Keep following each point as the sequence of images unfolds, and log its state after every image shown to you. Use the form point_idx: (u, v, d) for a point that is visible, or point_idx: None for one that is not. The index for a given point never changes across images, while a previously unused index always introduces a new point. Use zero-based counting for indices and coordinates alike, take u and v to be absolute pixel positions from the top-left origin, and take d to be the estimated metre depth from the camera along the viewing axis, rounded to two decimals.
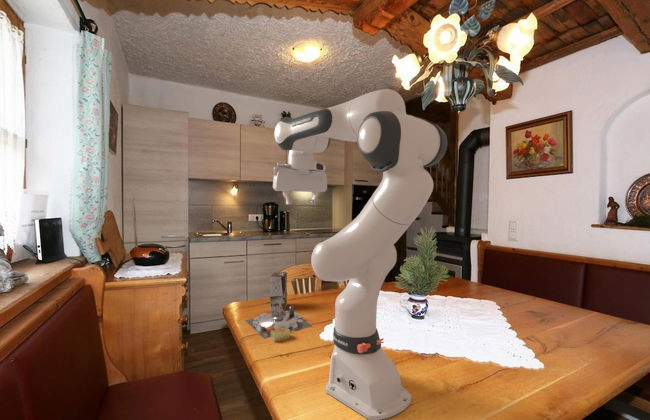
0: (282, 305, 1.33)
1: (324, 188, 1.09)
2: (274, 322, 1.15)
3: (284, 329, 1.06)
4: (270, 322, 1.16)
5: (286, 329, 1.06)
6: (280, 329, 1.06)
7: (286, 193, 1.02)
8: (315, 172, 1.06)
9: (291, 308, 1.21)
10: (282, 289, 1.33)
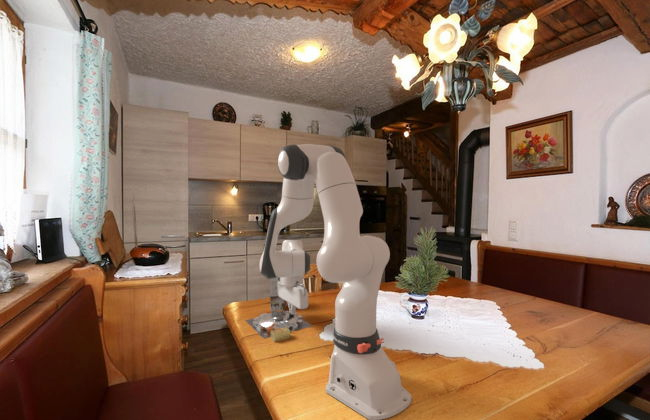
0: (282, 305, 1.33)
1: None
2: (274, 322, 1.15)
3: (284, 329, 1.06)
4: (270, 322, 1.16)
5: (286, 329, 1.06)
6: (280, 329, 1.06)
7: None
8: None
9: None
10: None
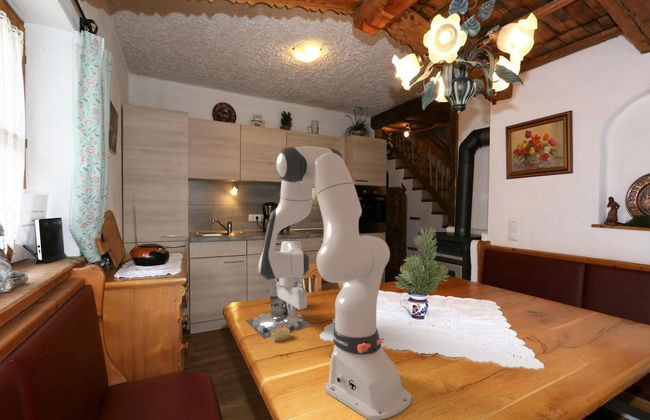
0: (282, 305, 1.33)
1: None
2: (279, 322, 1.16)
3: (284, 329, 1.06)
4: (275, 323, 1.15)
5: (286, 329, 1.06)
6: (280, 329, 1.06)
7: None
8: None
9: (286, 306, 1.23)
10: None
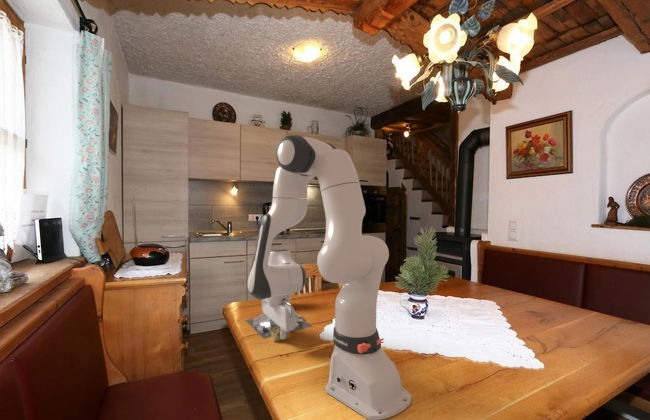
0: None
1: None
2: None
3: None
4: (275, 323, 1.15)
5: None
6: (280, 329, 1.06)
7: None
8: None
9: None
10: None
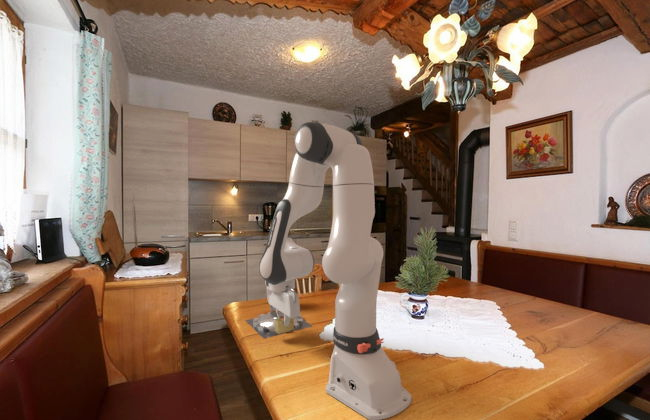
0: None
1: None
2: None
3: None
4: None
5: (290, 318, 1.05)
6: None
7: None
8: None
9: None
10: None
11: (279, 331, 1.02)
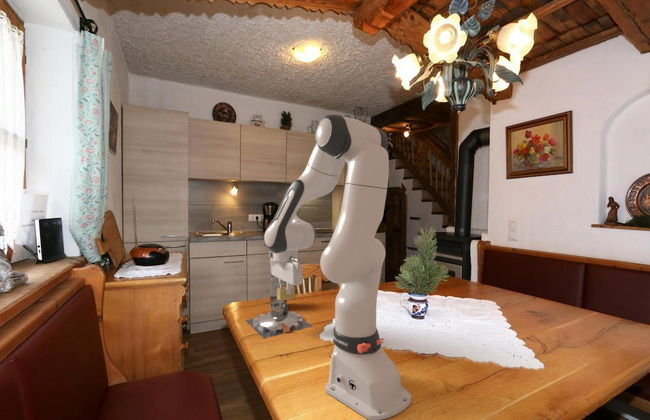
0: (282, 305, 1.33)
1: None
2: (280, 322, 1.16)
3: None
4: (275, 323, 1.15)
5: None
6: (286, 287, 1.13)
7: None
8: None
9: (286, 306, 1.24)
10: None
11: (281, 298, 1.10)
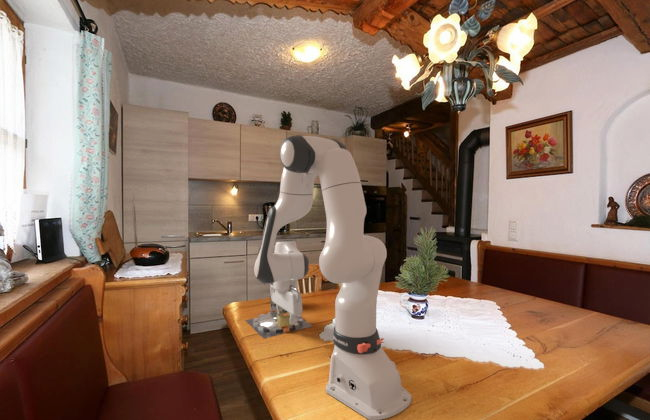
0: None
1: None
2: None
3: None
4: (275, 323, 1.15)
5: None
6: (285, 313, 1.13)
7: None
8: None
9: None
10: None
11: (281, 325, 1.10)
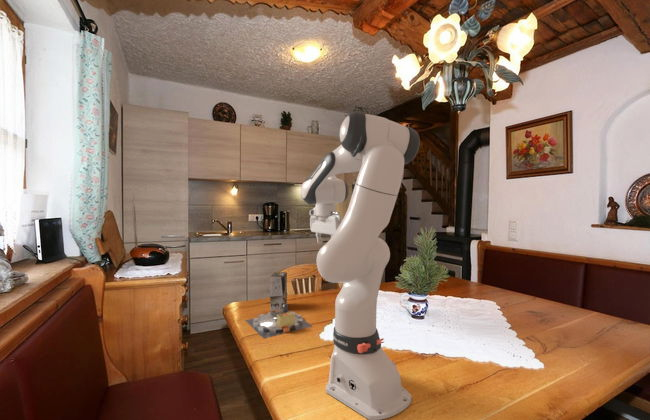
0: (282, 305, 1.33)
1: None
2: None
3: (289, 313, 1.14)
4: (275, 323, 1.15)
5: (291, 313, 1.14)
6: (285, 313, 1.13)
7: None
8: None
9: (286, 306, 1.24)
10: (282, 289, 1.33)
11: (281, 325, 1.10)
